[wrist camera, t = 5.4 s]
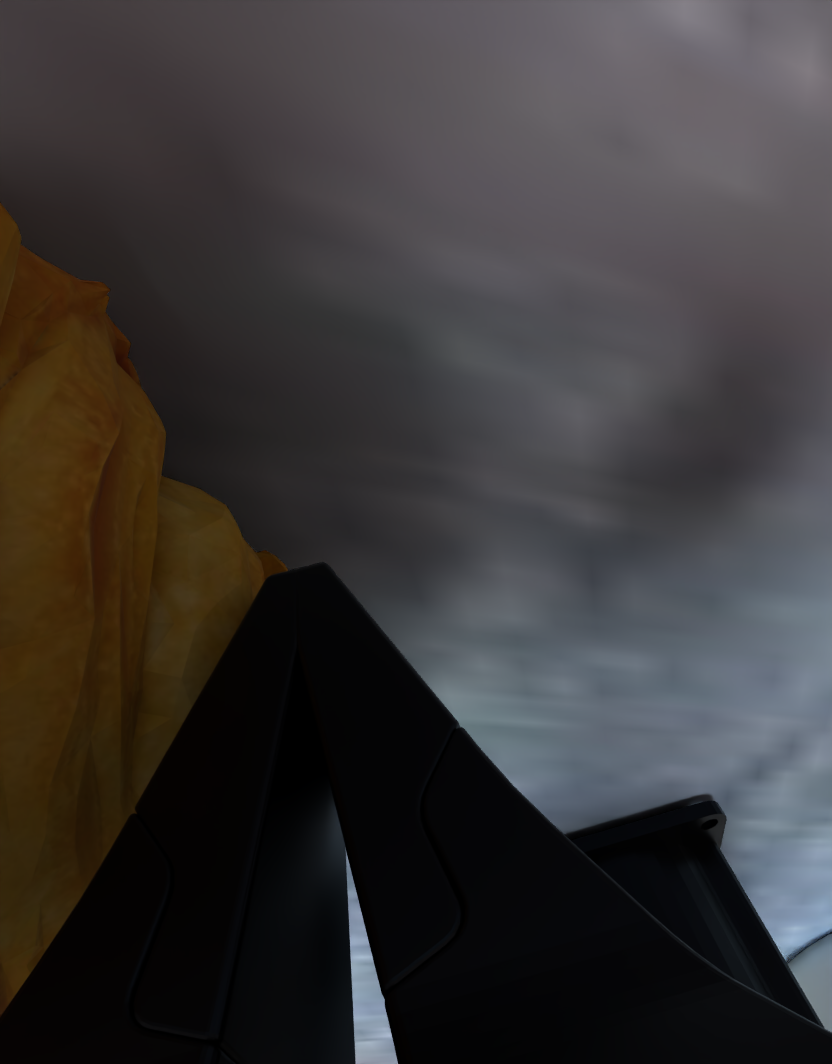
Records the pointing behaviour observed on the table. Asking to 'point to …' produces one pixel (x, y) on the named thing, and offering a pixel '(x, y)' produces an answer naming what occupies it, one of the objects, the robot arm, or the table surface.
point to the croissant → (90, 595)
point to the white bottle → (816, 977)
